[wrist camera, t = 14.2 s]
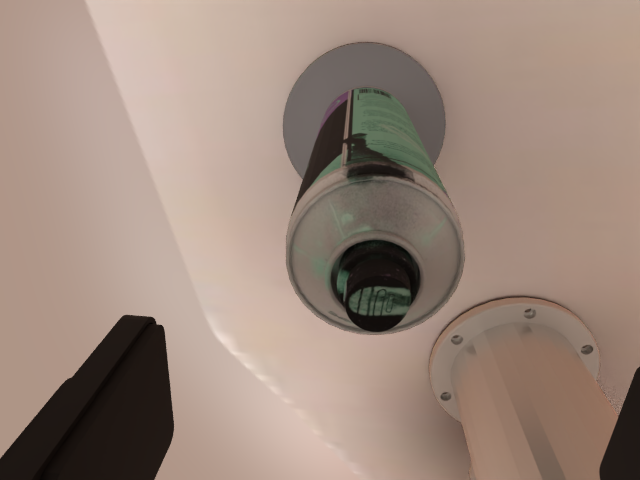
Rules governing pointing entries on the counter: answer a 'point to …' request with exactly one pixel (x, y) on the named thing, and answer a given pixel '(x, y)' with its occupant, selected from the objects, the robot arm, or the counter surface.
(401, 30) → the counter surface
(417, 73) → the mat
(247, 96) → the counter surface
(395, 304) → the spray can
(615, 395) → the counter surface
